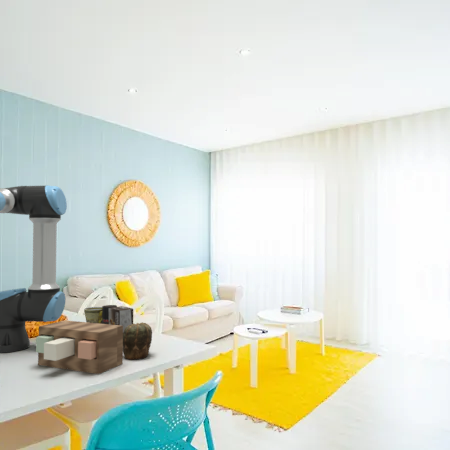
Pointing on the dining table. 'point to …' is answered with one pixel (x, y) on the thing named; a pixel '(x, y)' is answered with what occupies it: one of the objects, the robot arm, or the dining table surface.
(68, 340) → the key cream
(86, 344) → the key terracotta
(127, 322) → the coffee box
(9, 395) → the dining table surface
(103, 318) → the deodorant
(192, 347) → the dining table surface
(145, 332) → the shell
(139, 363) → the dining table surface
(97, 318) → the ceramic cup
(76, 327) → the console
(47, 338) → the key sage
